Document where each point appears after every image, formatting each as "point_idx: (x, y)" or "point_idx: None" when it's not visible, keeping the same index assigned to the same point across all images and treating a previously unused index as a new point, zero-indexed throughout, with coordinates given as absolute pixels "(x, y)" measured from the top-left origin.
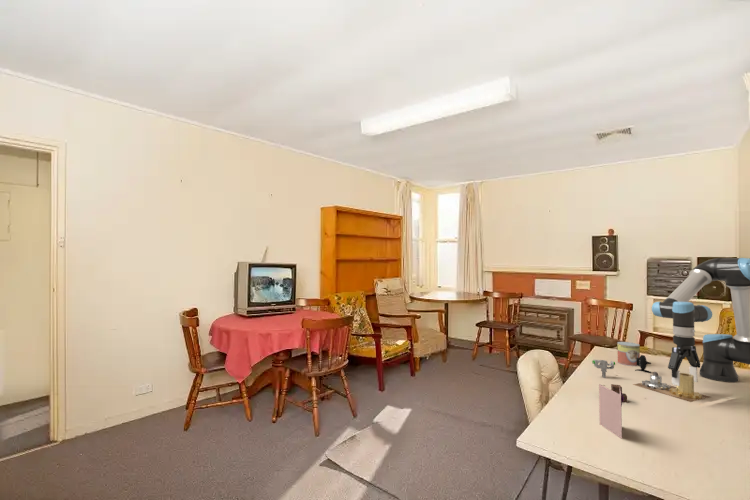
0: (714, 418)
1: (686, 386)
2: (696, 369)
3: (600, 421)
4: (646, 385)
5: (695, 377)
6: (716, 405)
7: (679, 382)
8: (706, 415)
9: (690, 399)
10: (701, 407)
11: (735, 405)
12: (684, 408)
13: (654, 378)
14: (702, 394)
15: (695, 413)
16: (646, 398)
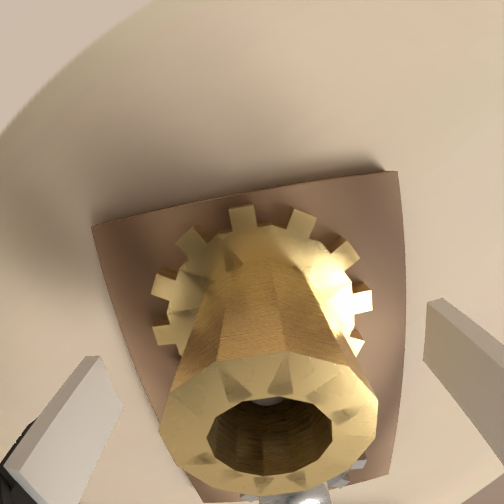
0: (433, 3)
1: (323, 306)
2: (27, 453)
3: None
4: (364, 456)
5: (83, 392)
6: (177, 127)
7: (450, 316)
8: (440, 37)
9: (340, 213)
10: (345, 121)
11: (51, 117)
12: (466, 149)
13: (327, 491)
14: (109, 284)
15: (471, 78)
16: (492, 327)
